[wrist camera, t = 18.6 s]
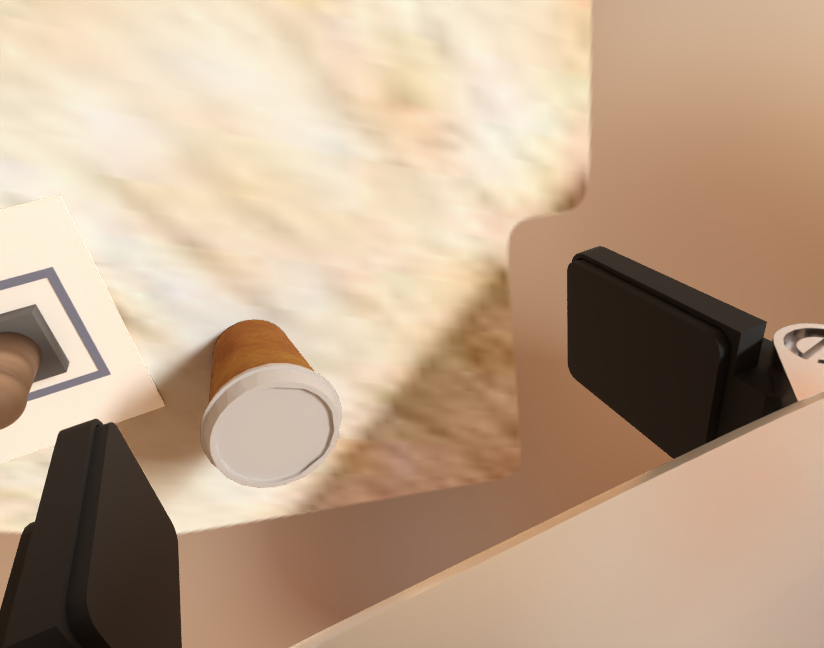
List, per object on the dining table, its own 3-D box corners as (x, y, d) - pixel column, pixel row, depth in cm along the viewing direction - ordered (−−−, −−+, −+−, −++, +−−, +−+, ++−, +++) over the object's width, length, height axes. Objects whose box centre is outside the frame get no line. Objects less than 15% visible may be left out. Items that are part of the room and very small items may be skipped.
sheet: (-195, 255, 32) (-198, 257, 32) (60, 194, 36) (59, 195, 36) (-24, 469, 41) (-26, 473, 41) (164, 404, 45) (164, 407, 45)
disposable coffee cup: (207, 412, 47) (219, 510, 37) (179, 315, 42) (185, 397, 32) (314, 384, 50) (353, 468, 40) (299, 290, 45) (338, 359, 35)
